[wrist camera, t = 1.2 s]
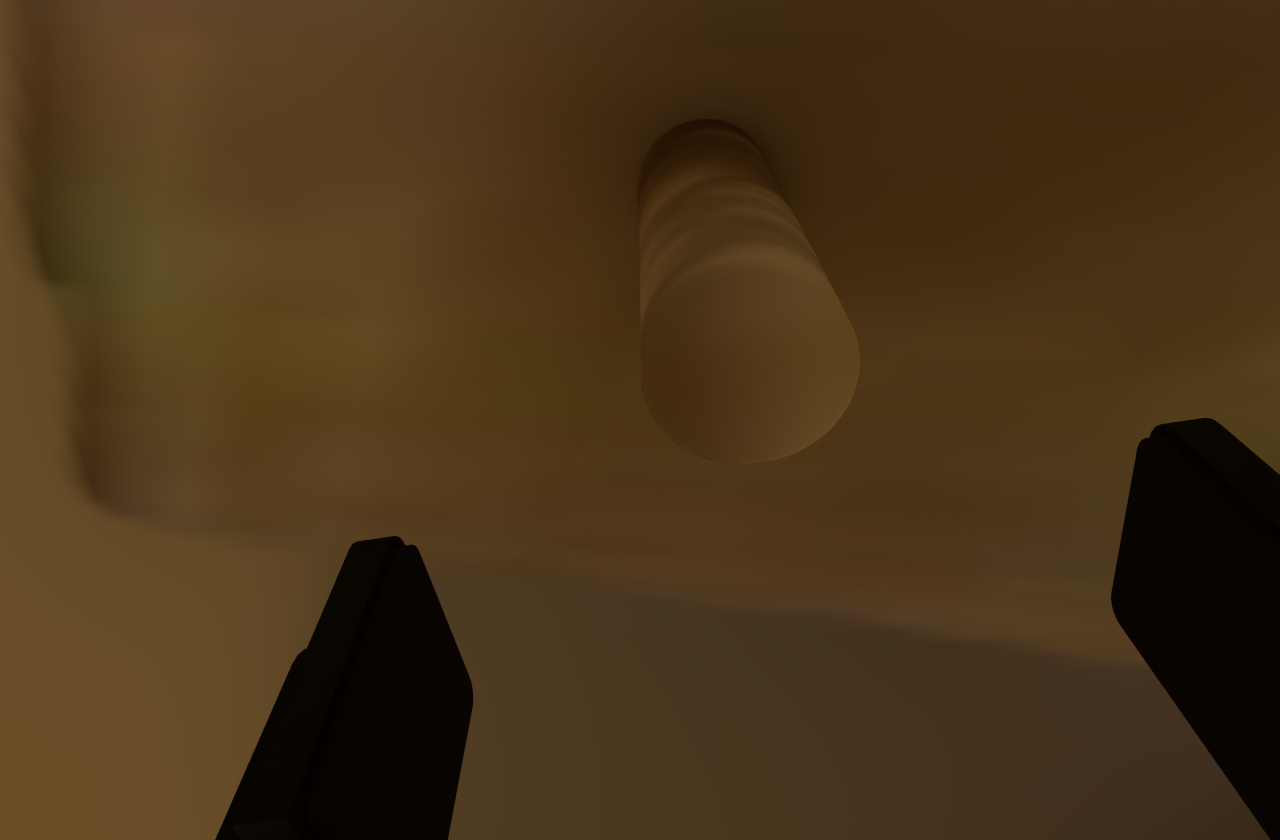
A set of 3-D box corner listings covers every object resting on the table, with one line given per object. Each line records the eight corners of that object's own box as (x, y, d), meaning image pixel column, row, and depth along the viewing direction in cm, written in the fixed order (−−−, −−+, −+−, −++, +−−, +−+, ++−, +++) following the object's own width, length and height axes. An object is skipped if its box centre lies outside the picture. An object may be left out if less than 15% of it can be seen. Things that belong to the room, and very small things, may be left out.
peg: (762, 108, 24) (857, 254, 14) (773, 238, 26) (862, 448, 16) (628, 131, 24) (623, 292, 14) (649, 258, 27) (659, 477, 16)
